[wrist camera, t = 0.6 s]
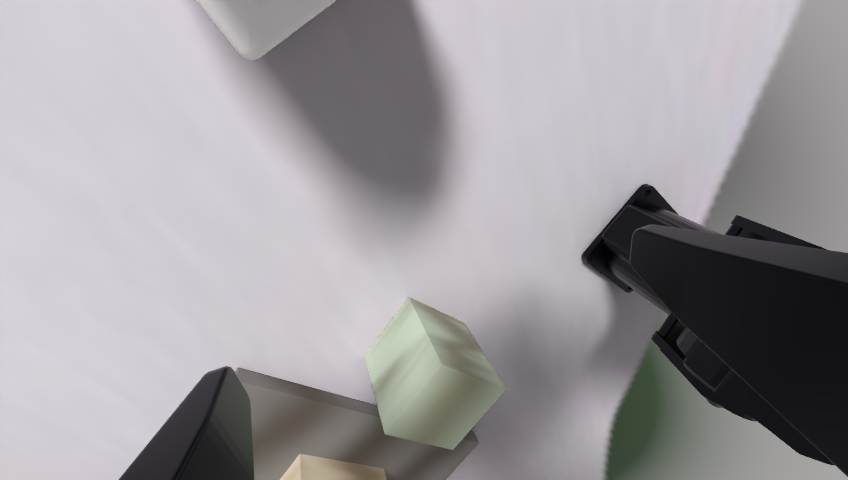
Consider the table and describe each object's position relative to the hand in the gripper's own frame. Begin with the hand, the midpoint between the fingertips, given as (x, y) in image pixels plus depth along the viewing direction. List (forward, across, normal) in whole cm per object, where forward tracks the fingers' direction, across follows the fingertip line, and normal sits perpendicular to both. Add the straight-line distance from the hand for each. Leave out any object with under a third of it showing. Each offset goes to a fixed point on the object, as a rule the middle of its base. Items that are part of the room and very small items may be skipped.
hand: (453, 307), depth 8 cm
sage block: (+13, 0, +13) cm, 19 cm away
